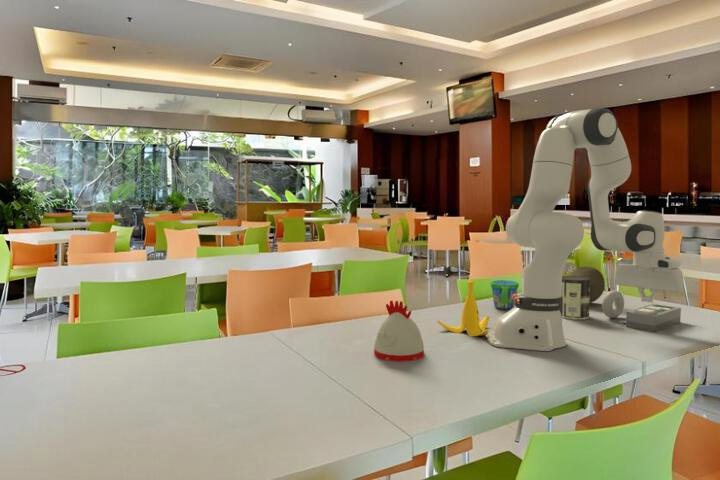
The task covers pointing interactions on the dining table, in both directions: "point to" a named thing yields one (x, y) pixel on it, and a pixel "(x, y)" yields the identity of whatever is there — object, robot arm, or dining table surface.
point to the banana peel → (470, 317)
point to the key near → (646, 311)
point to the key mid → (655, 308)
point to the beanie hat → (398, 336)
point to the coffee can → (575, 297)
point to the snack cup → (504, 293)
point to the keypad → (653, 318)
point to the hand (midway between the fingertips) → (647, 301)
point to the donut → (608, 306)
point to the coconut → (592, 281)
